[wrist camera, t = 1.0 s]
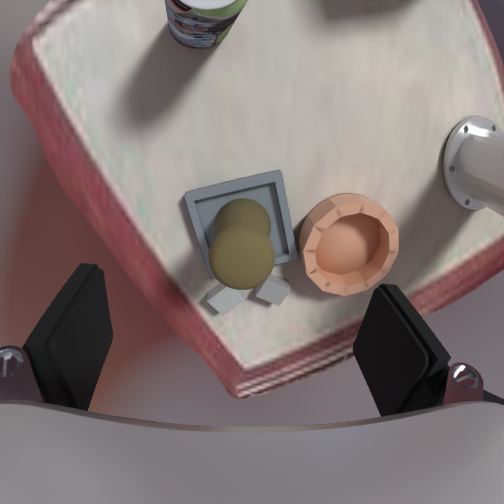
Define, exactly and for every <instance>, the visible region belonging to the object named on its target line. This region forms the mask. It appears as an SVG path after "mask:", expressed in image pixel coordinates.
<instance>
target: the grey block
mask: <svg viewBox="0 0 504 504" xmlns="http://www.w3.org/2000/svg"><path fill="white" fill-rule="evenodd" d="M290 290H291V289H290V285H289V282H288V281H286V280H284V279H282V278H279V277H277V276H275V275H273V274H270V275H269V276H268V278H267V279H266V281H264V282H263V283H261V284H260V285H259V286H257V287H255V293H256V297H258V298H261V299H263V300H266V301H268V302H271V303H273V304H276V305H278V306H280V304H281V303H282V301H283V300H284V299H285V297H286V296H287V294H288V293H289V291H290Z"/></svg>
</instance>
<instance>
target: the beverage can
mask: <svg viewBox="0 0 504 504" xmlns="http://www.w3.org/2000/svg"><path fill="white" fill-rule="evenodd" d="M247 1H248V0H165V5H166V11H167V18H168V24H169V29H170V32H171V34H172V36H173V37H174V38H175V40H177V41H178V42H179V43H181V44H182V45H184V46H187V47H190V48H198V49H199V48H207V47H210V46H213V45H215V44H217V43H219V42H220V41H221V40H223V39H224V38H225V36H226V35H227V34H228V32H229V30H230V29H231V27H232V25H233V24H234V22H235V20H236V19H237V17H238V15H239V14H240V12H241V10H242V9H243V7H244V6H245V4H246V2H247Z"/></svg>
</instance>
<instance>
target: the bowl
mask: <svg viewBox="0 0 504 504" xmlns="http://www.w3.org/2000/svg"><path fill="white" fill-rule="evenodd" d="M298 241H299V250H300V254H301V258H302V264H303V266H304V269H305V271H306V274H307V275H308V276H309V277H310V279H311V280H312V281H313V282H314V283H315V284H316V285H317V286H318V287H319V288H320V289H321V290H322V291H325V292H329V293H334V294H338V295H342V296H347V295H351V294H355V293H358V292H362V291H366V290H369V289H370V288H371V287H372V286H374V285H375V284H376V283H377V282H379V281H380V280H381V279H382V278H384V277H385V276H386V275H387V274H388V272H389V270H390V269H391V267H392V265H393V263H394V261H395V259H396V257H397V255H398V252H399V230H398V227H397V226H396V224H395V223H394V221H393V220H392V218H391V217H390V215H389V214H388V212H387V211H386V210H385V209H384V208H383V207H382V206H380V205H379V204H378V203H377V202H375V201H372V200H370V199H368V198H366V197H364V196H362V195H359V194H353V193H343V194H337V195H334V196H331V197H329V198H326V199H325V200H323V201H321V202H320V203H319V204H317V205H316V206H315V207H314V208H313V209H312V210H311V211H310V212H309V214H308V215H307V216H306V218H305V220H304V222H303V224H302V226H301V229H300V233H299V240H298Z"/></svg>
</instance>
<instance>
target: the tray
mask: <svg viewBox="0 0 504 504" xmlns="http://www.w3.org/2000/svg"><path fill="white" fill-rule="evenodd" d="M184 197H185V200H186V203H187V207H188V210H189V213H190V216H191V219H192V223H193V226H194V229H195V232H196V235H197V238H198V242H199V245H200V248H201V251H202V254H203V257H204V260H205V263H206V266H207V269H208V272H209V275H210V278H211V279H212V278H215V276H214V275H213V273H212V270H211V268H210V266H209V259H208V254H209V249H210V245H211V243H212V241H213V240H214V238H215V237H216V235H215V225H214V223H215V219H216V215H217V213H218V212H219V210H220V209H221V207H223V206H224V205H225V204H226V203H227V202H229V201H232V200H235V199H241V198H247V199H251V200H254V201H256V202H258V203H259V204H261V205H262V206H263V207H264V208H265V210H266V211H267V212H268V214H269V217H270V220H271V232H270V237H269V239H270V240H271V243H272V245H273V248H274V251H275V263H274V265H276V264H280V263H285V262H289V261H293V260H298V257H297V252H296V246H295V240H294V235H293V229H292V224H291V219H290V213H289V208H288V203H287V198H286V193H285V188H284V183H283V178H282V173H281V171H280V170H275V171H270V172H265V173H261V174H256V175H252V176H248V177H243V178H239V179H235V180H231V181H226V182H222V183H218V184H214V185H210V186H206V187H202V188H198V189H195V190H191V191H187V192H186V193H185V195H184Z"/></svg>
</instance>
